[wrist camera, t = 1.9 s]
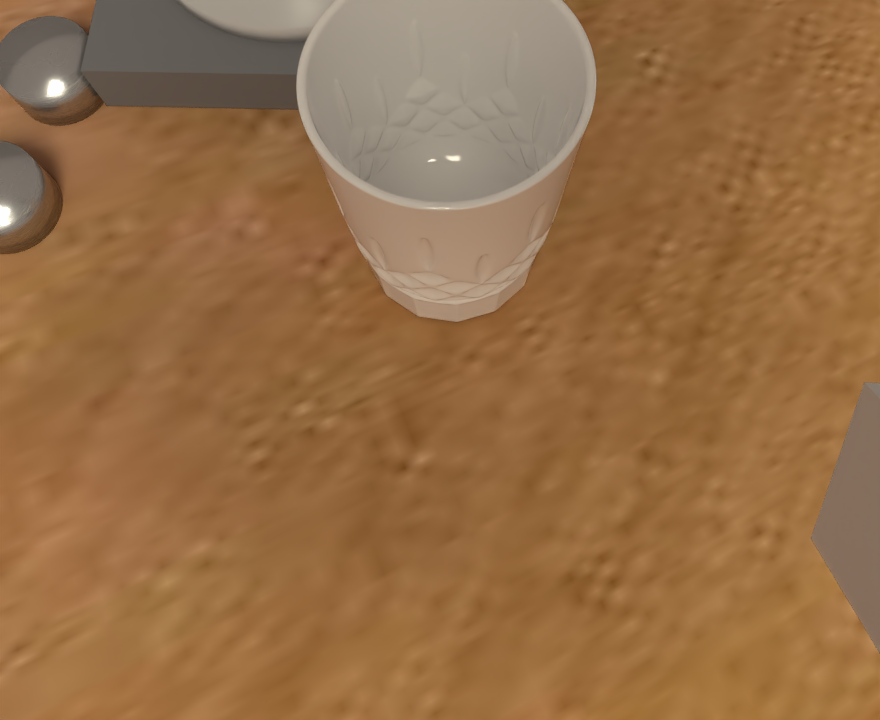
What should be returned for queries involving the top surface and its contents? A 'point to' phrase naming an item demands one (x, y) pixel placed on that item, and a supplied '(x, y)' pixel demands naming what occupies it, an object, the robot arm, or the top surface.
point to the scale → (198, 52)
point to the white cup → (447, 138)
